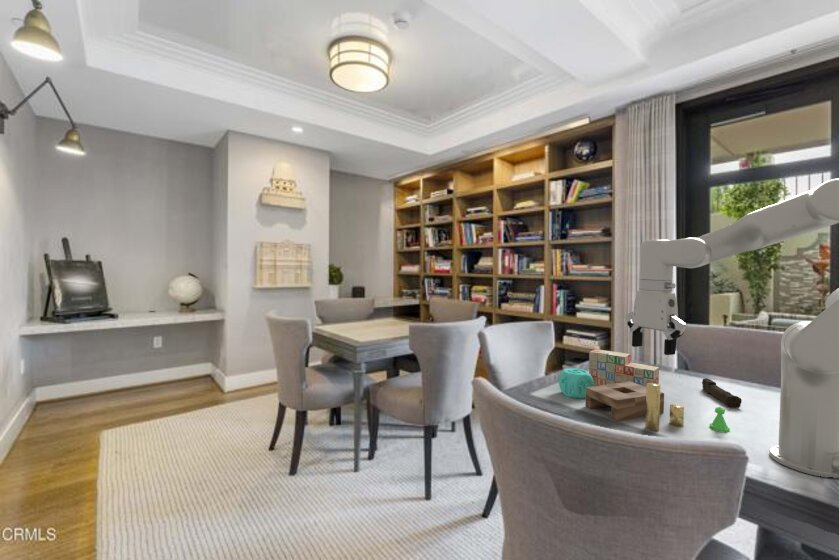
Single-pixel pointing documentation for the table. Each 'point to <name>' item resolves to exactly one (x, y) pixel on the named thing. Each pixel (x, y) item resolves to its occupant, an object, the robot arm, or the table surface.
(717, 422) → the game piece
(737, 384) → the table surface
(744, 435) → the table surface
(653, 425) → the tall pin
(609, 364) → the stack of blocks
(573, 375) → the decorative dice
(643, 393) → the bridge board
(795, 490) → the table surface
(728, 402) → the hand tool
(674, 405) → the short pin
